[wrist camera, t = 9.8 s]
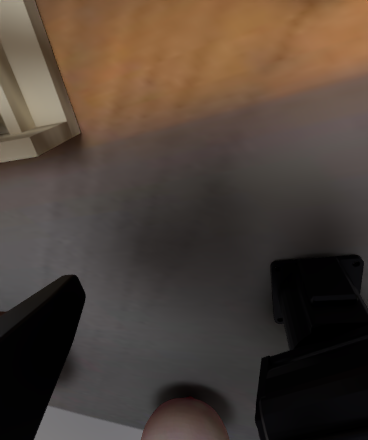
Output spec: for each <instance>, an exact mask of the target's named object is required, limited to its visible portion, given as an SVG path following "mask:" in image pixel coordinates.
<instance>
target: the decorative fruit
mask: <svg viewBox="0 0 368 440" xmlns="http://www.w3.org/2000/svg"><path fill="white" fill-rule="evenodd" d="M141 440H229V437H228V433H227V430H226V428H225V426H224V424H223V422H222V420H221V418H220V417H219V415H218V414H217V412H216V411H215V410H214V409H213V408H212V407H211V406H209V405H208V404H206V403H205V402H203V401H200V400H197V399H194V398H193V397H191V396H188V397H186V398H174V399H171V400H168V401H166V402H164V403H163V404H161V405H160V406H159V407H158V408H157V409H156V410H155V411H154V412H153V414H152V415H151V417H150V418H149V420H148V421H147V423H146V425H145V428H144V430H143V434H142V437H141Z"/></svg>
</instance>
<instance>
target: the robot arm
mask: <svg viewBox="0 0 368 440" xmlns="http://www.w3.org/2000/svg"><path fill="white" fill-rule="evenodd" d="M355 261H358V262H356V263H354V262H355ZM363 266H364V261H363V260H362V258H361V257H360V256H358V255H350V256H337V257H322V258H308V259H295V260H282V261H274V262H273V263H272V264H271V280H272V297H273V314H274V320H275V322H276V323H278V324H284V327H285V331H286V336H287V341H288V345H289V351H286V352H283V353H280V354H277V355H274V356H271V357H270V356H266V357H263V358H262V359H261V367H260V375H259V384H258V392H257V400H256V413H255V423H256V426H257V428H258V433H259V437H260V440H368V308H367V306H366V305H365V303H364V301H363V299H362V297H361V296H360V290H361V282H362V274H363ZM276 267H280V268H278V269H277V268H276ZM85 298H86V296H85V292H84V289H83V287H82V285H81V283H80V281H79V279H78V277H77V276H76V275H64V276H61V277H60V278H58V279H57V280H55V281H54V282H52V283H51V284H49V285H48V286H46V287H45V288H43V289H41V290H40V291H38V292H37V293H35V294H34V295H32V296H31V297H29V298H28V299H26V300H25V301H23V302H21V303H20V304H18V305H17V306H15V307H14V308H12V309H11V310H9V311H8V312H6V313H5V314H3V315H1V316H0V440H34V438H35V435H36V433H37V430H38V428H39V425H40V423H41V420H42V418H43V416H44V413H45V411H46V408H47V406H48V403H49V401H50V398H51V396H52V393H53V391H54V388H55V386H56V383H57V381H58V378H59V376H60V373H61V371H62V368H63V366H64V363H65V361H66V358H67V356H68V354H69V351H70V348H71V346H72V343H73V340H74V337H75V334H76V330H77V327H78V323H79V320H80V317H81V313H82V310H83V306H84V303H85Z"/></svg>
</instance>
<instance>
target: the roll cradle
mask: <svg viewBox="0 0 368 440" xmlns="http://www.w3.org/2000/svg"><path fill="white" fill-rule="evenodd" d="M80 133H81V132H80V129H79V126H78V123H77V120H76V117H75V114H74V112H73V109H72V106H71V103H70V100H69V97H68V94H67V92H66V89H65V86H64V83H63V80H62V77H61V74H60V71H59V69H58V66H57V63H56V60H55V57H54V54H53V51H52V49H51V46H50V43H49V40H48V37H47V34H46V31H45V29H44V26H43V23H42V20H41V17H40V14H39V11H38V9H37V6H36V3H35V0H0V163H1V162H7V161H13V160H19V159H25V158H31V157H37V156H40V155H41V154H43V153H45V152H47V151H49V150H51V149H52V148H54V147H56V146H58V145H60V144H62V143H63V142H65V141H67V140H69V139H71V138H73V137H75V136H76V135H78V134H80Z"/></svg>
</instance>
